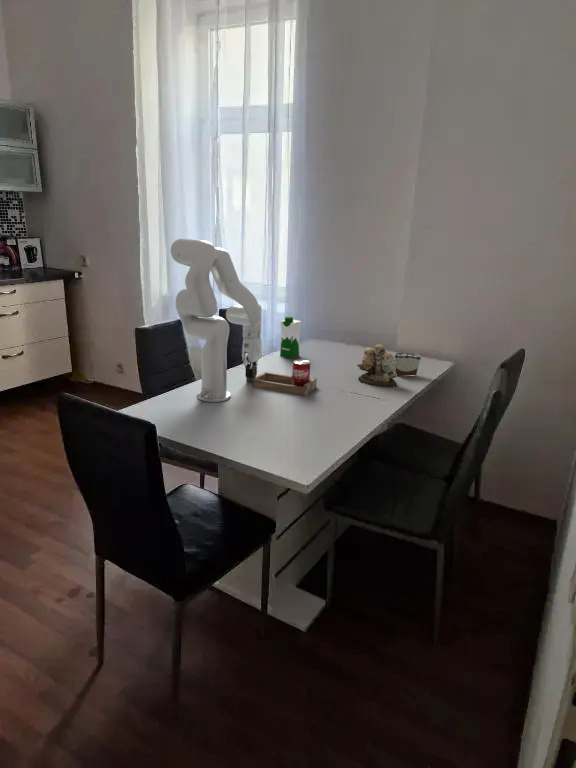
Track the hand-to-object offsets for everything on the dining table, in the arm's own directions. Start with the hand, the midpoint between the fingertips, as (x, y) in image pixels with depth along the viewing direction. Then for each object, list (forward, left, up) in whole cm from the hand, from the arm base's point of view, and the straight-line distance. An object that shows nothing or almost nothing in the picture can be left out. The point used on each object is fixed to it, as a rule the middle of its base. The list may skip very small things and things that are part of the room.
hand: (251, 375), depth 223 cm
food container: (+45, -57, -3) cm, 73 cm away
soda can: (0, -22, -3) cm, 23 cm away
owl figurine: (+26, -48, -3) cm, 55 cm away
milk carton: (+48, +2, -3) cm, 48 cm away
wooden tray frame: (0, -13, -2) cm, 13 cm away
